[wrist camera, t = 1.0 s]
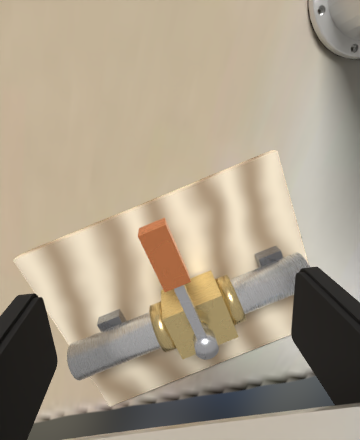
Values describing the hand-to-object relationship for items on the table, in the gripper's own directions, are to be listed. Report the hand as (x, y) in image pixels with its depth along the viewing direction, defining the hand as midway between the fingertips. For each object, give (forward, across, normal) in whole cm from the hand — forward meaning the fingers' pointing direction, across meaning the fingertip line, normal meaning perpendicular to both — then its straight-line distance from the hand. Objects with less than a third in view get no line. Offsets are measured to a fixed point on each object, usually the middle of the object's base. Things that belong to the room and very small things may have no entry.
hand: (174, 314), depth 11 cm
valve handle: (+16, -1, +9) cm, 19 cm away
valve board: (+26, -2, +14) cm, 29 cm away
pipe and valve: (+24, -2, +15) cm, 29 cm away
